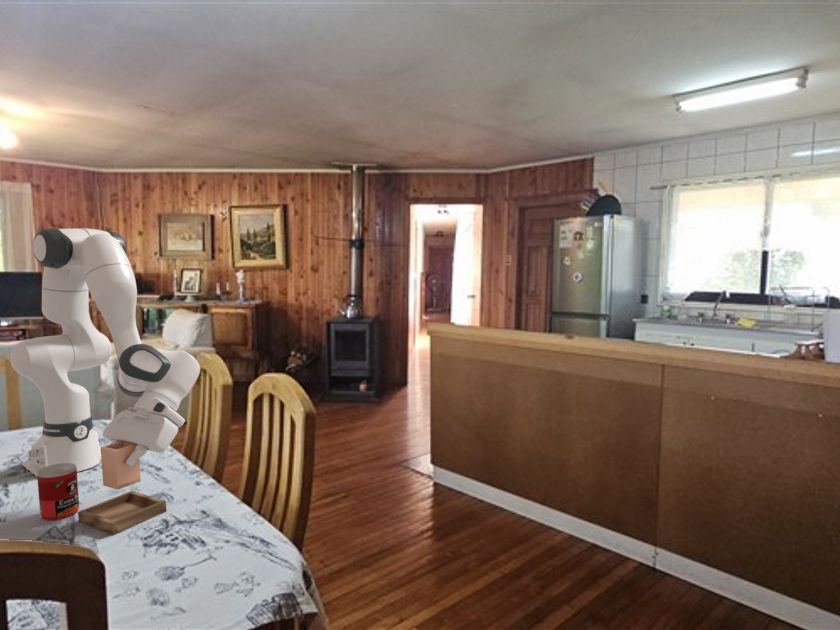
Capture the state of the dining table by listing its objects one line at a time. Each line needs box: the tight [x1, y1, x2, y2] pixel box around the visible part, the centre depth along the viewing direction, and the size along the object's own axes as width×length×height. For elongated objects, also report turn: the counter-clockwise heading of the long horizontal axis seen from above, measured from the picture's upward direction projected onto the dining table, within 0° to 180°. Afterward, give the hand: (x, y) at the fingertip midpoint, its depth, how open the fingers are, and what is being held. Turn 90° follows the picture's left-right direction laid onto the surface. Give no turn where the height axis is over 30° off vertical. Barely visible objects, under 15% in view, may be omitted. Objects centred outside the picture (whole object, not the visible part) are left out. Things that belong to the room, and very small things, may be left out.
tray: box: [77, 490, 167, 536], centre depth 125 cm, size 13×13×2 cm
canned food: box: [36, 463, 80, 522], centre depth 127 cm, size 8×8×11 cm
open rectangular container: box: [100, 441, 142, 491], centre depth 124 cm, size 6×6×9 cm
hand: (117, 462), depth 124 cm, fingers closed on open rectangular container, 5 cm apart
